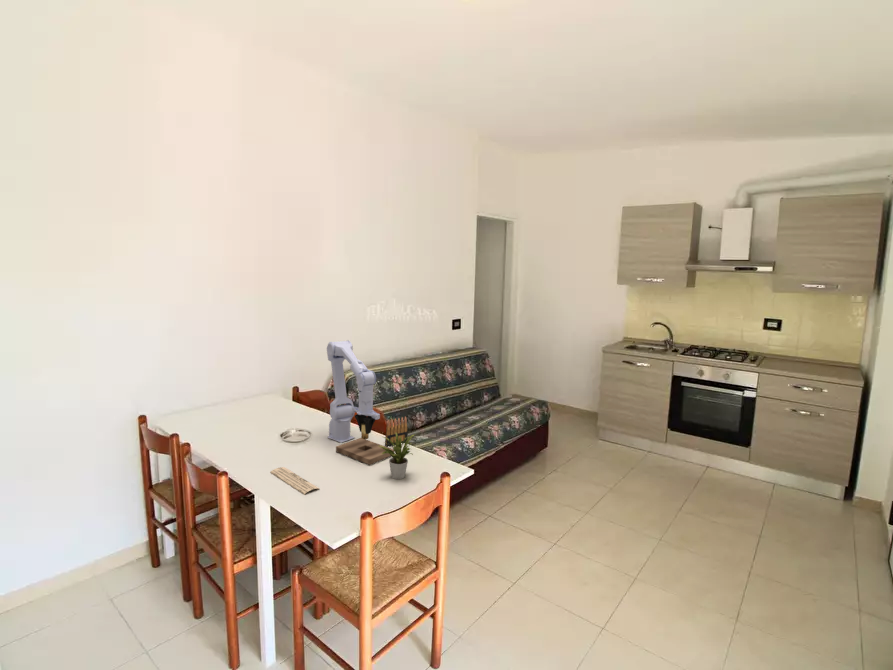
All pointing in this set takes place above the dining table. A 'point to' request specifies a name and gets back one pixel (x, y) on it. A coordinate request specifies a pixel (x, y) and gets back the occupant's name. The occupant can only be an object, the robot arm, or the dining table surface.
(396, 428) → the ammunition clip
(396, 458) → the house plant
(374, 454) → the walnut socket board
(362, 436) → the brass peg
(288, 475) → the wooden slat
